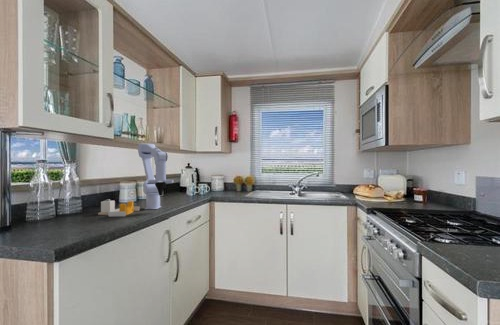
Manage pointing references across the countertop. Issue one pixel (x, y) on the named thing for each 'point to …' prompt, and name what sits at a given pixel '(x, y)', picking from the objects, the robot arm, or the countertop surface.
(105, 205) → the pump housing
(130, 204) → the pipe clamp
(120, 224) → the countertop surface
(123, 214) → the parts bay
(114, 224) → the countertop surface
